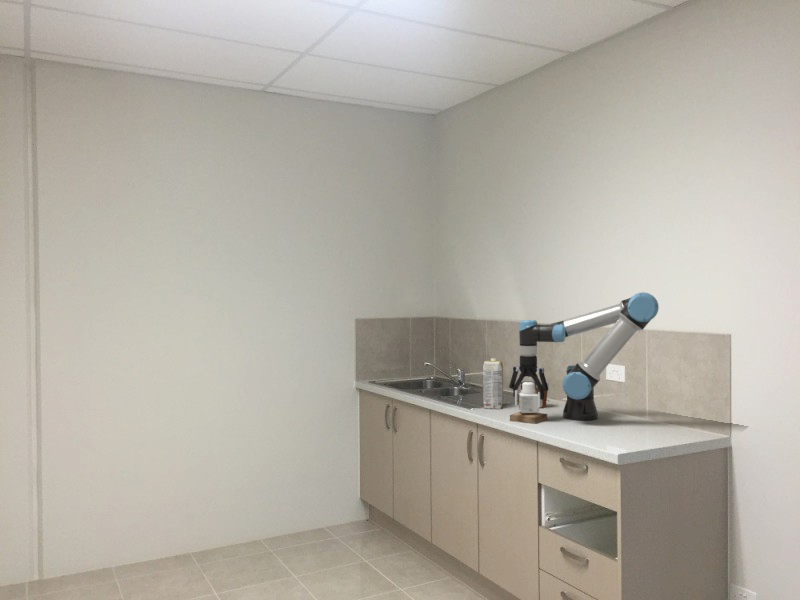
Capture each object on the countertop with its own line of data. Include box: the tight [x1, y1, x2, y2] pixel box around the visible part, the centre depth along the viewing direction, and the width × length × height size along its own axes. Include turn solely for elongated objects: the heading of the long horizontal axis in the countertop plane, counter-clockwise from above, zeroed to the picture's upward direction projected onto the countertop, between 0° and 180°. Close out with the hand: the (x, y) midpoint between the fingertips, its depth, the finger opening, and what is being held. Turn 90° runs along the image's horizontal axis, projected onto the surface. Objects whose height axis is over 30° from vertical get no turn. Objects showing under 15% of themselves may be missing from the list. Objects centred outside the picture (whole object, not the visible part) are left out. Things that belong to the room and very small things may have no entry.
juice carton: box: [482, 357, 504, 410], centre depth 338 cm, size 9×8×24 cm
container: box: [518, 380, 540, 413], centre depth 306 cm, size 8×8×13 cm
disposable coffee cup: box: [532, 380, 550, 409], centre depth 340 cm, size 10×10×12 cm
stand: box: [509, 411, 548, 425], centre depth 306 cm, size 12×12×3 cm
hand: (528, 405), depth 306 cm, fingers closed on container, 10 cm apart
